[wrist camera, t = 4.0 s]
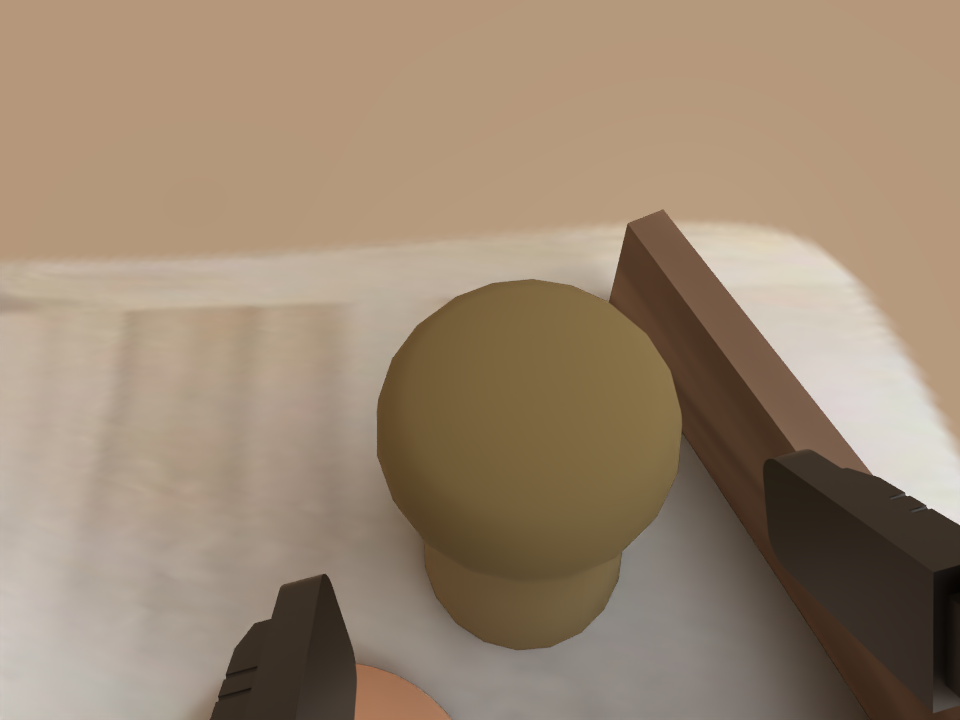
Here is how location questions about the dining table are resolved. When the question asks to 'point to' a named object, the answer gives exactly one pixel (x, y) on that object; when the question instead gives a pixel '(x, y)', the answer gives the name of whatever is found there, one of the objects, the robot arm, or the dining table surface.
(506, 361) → the cork
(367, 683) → the terracotta coaster
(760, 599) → the dining table surface
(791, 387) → the walnut corner walls
